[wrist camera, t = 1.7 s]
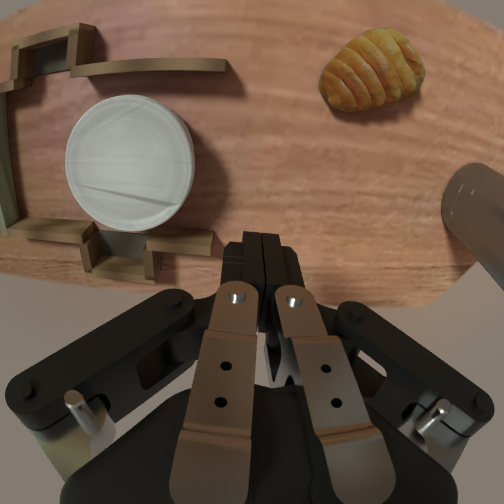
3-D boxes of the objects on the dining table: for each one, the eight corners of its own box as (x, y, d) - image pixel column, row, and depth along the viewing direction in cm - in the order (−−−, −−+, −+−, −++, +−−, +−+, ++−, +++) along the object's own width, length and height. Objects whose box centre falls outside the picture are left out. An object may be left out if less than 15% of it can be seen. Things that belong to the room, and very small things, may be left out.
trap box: (233, 18, 19) (231, 11, 17) (211, 272, 32) (208, 290, 30) (2, 51, 18) (-16, 53, 15) (23, 251, 31) (11, 264, 28)
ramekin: (119, 221, 29) (99, 248, 25) (75, 123, 24) (44, 135, 19) (220, 186, 28) (215, 209, 23) (179, 72, 22) (162, 71, 17)
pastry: (341, 128, 25) (354, 136, 22) (299, 65, 22) (307, 62, 19) (419, 84, 22) (440, 87, 19) (384, 22, 19) (402, 16, 16)
